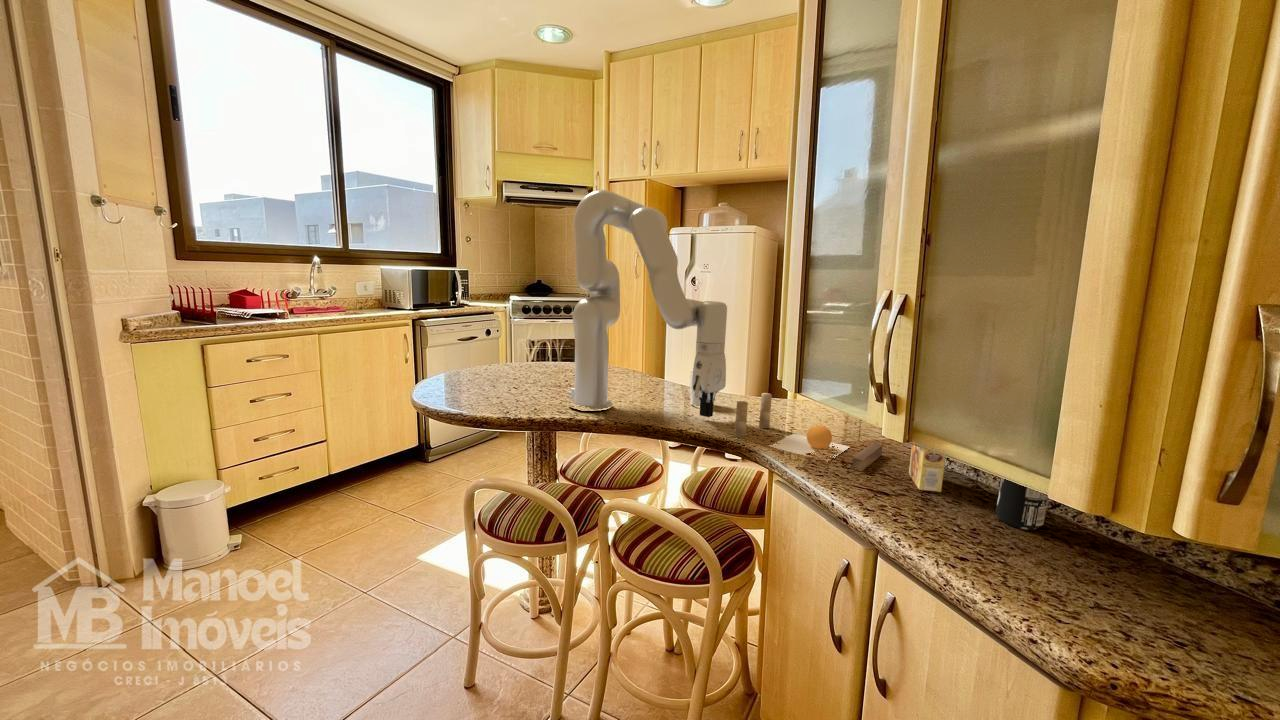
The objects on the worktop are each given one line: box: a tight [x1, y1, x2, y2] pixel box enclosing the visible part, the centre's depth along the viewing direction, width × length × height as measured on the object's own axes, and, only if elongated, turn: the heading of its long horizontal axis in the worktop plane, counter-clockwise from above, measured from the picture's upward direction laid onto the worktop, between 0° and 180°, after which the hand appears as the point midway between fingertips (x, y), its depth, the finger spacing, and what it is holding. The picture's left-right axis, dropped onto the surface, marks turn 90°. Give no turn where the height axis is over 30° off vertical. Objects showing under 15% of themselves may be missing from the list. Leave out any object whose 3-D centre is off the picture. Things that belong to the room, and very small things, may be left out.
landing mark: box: [769, 432, 851, 463], centre depth 122 cm, size 14×14×1 cm
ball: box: [806, 424, 833, 449], centre depth 121 cm, size 6×6×6 cm
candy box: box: [908, 444, 947, 493], centre depth 102 cm, size 9×4×15 cm, turn 166°
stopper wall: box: [851, 442, 884, 472], centre depth 114 cm, size 2×14×2 cm, turn 140°
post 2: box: [758, 392, 773, 429], centre depth 136 cm, size 3×3×9 cm
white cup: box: [689, 370, 713, 406], centre depth 156 cm, size 8×8×10 cm
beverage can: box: [995, 477, 1049, 531], centre depth 87 cm, size 7×7×12 cm
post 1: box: [734, 400, 749, 440], centre depth 126 cm, size 3×3×9 cm
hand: (706, 415), depth 140 cm, fingers closed
